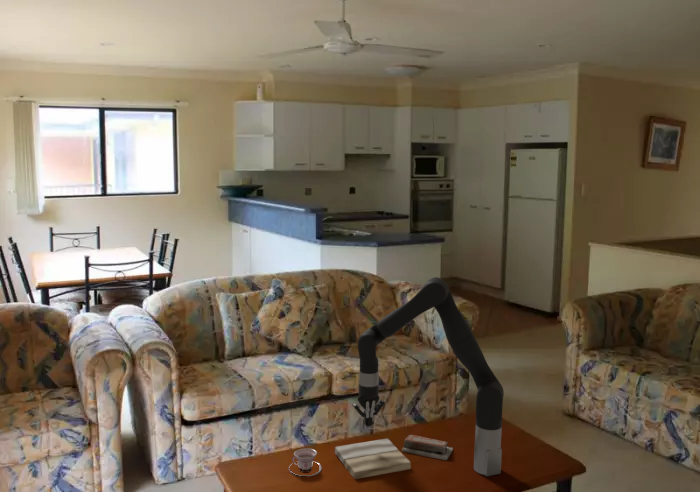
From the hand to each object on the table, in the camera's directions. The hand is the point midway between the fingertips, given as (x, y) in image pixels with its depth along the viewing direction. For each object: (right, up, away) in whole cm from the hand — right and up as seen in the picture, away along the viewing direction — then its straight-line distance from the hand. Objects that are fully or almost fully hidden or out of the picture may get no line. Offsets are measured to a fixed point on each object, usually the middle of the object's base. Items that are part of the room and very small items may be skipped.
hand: (368, 425), depth 256 cm
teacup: (-23, -13, -12) cm, 29 cm away
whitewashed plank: (-1, -11, -1) cm, 11 cm away
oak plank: (+3, -13, -10) cm, 16 cm away
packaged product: (+23, -11, +4) cm, 26 cm away
